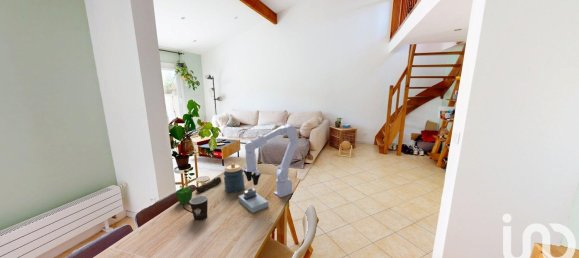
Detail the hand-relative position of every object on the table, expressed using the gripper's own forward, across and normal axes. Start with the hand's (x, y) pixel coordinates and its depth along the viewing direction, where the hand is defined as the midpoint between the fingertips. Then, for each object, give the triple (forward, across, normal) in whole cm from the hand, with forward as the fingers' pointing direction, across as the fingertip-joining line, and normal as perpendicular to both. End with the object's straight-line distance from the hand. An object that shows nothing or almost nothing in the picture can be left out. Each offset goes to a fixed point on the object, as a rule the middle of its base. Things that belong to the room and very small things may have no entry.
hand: (252, 182), depth 128 cm
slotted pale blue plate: (+9, +6, -4) cm, 12 cm away
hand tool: (+10, -33, -16) cm, 38 cm away
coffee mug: (+9, -2, -32) cm, 34 cm away
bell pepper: (+9, -23, -34) cm, 42 cm away
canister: (+10, -19, -4) cm, 22 cm away
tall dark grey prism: (+9, +3, -4) cm, 11 cm away
